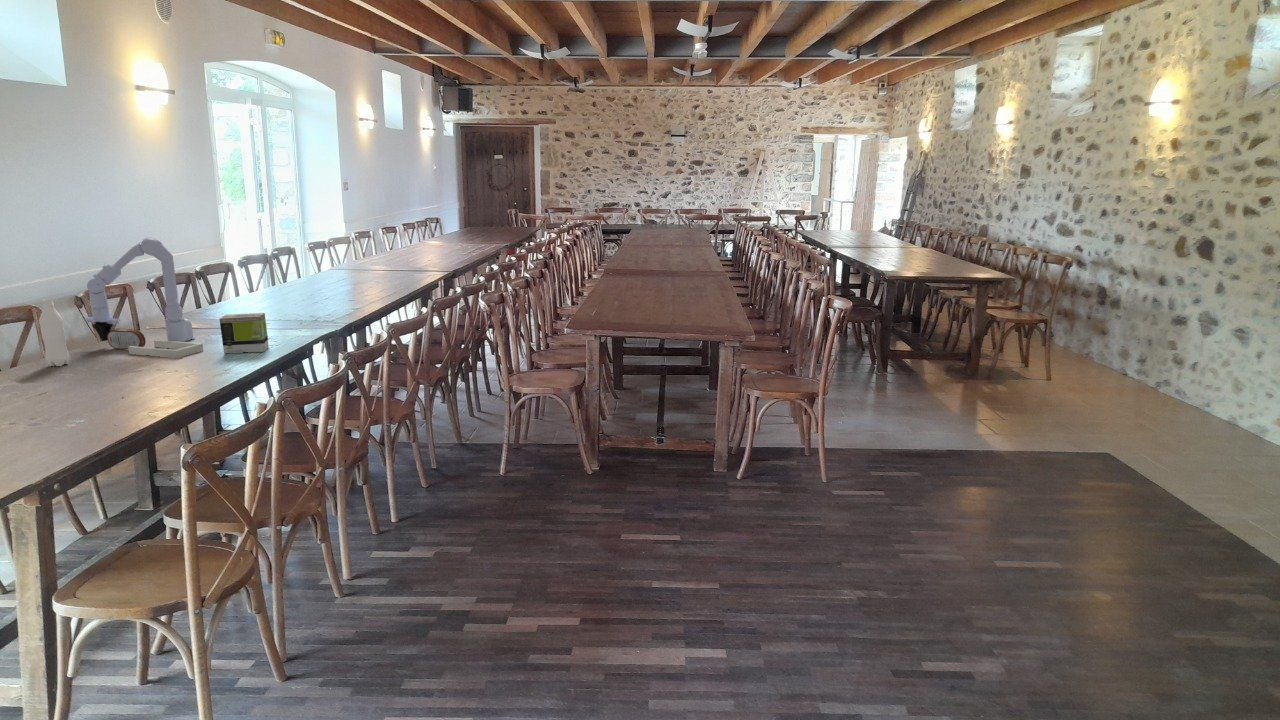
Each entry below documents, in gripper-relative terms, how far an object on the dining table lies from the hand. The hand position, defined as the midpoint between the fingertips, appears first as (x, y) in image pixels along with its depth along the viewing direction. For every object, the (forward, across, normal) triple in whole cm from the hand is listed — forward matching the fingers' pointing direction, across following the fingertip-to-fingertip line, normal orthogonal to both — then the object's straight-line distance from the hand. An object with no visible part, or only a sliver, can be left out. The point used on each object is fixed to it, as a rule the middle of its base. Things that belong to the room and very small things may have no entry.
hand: (105, 340), depth 311 cm
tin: (+3, +11, 0) cm, 11 cm away
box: (+3, +30, 0) cm, 30 cm away
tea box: (+3, +58, +12) cm, 59 cm away
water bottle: (+3, +10, -28) cm, 30 cm away
